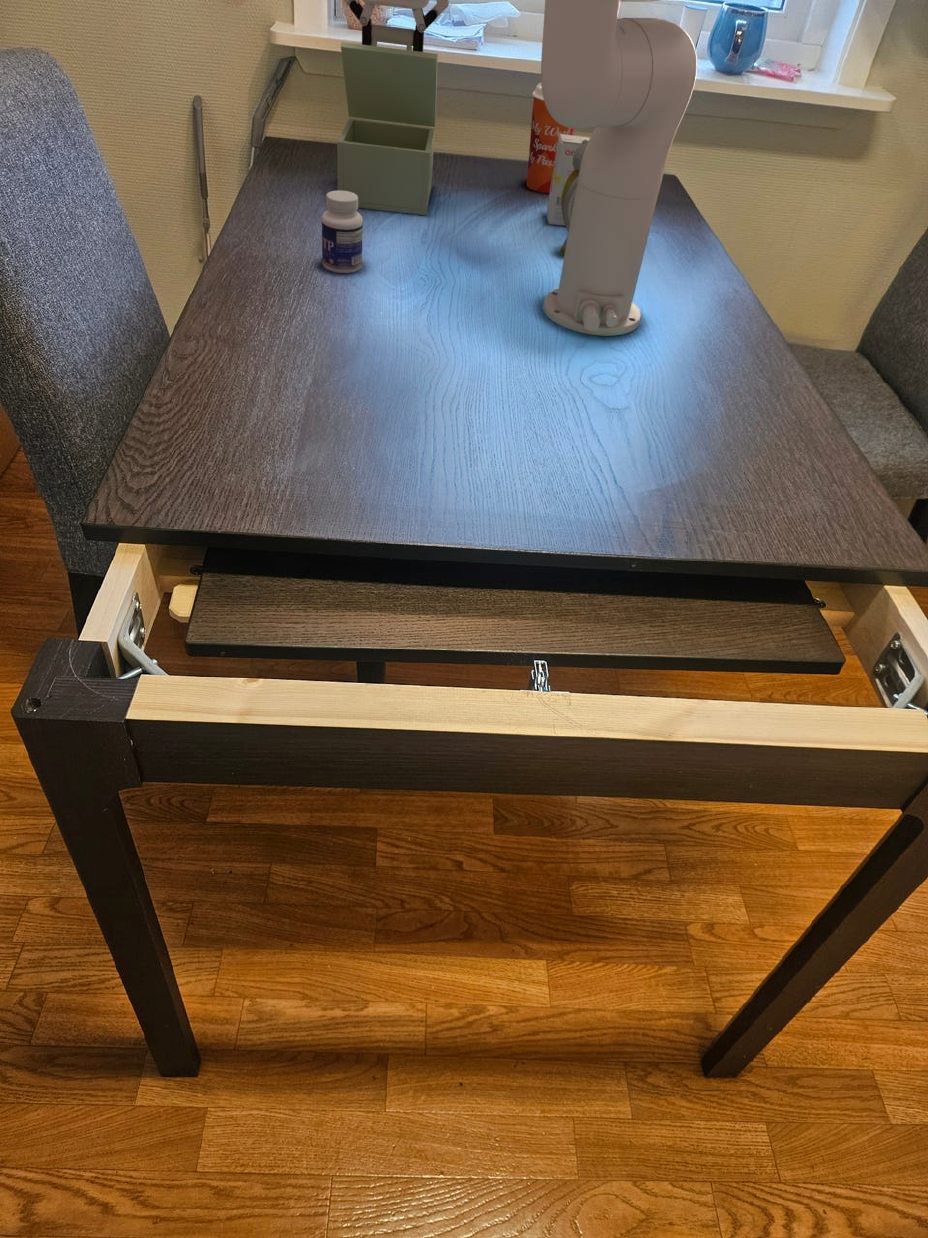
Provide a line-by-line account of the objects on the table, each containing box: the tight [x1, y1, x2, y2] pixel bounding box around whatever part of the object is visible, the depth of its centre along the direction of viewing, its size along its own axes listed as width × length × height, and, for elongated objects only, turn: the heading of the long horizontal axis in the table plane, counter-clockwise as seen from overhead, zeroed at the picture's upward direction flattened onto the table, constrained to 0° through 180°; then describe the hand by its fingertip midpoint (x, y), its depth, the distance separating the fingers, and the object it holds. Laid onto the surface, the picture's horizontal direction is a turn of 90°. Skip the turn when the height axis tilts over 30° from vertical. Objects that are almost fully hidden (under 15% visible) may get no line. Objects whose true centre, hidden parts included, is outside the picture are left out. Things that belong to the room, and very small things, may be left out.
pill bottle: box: [321, 190, 364, 274], centre depth 110 cm, size 5×5×9 cm
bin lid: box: [340, 23, 439, 128], centre depth 126 cm, size 14×14×6 cm
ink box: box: [546, 134, 590, 227], centre depth 130 cm, size 9×5×12 cm, turn 89°
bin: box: [336, 117, 436, 216], centre depth 131 cm, size 14×14×9 cm
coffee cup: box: [526, 81, 575, 194], centre depth 141 cm, size 8×8×15 cm
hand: (392, 58), depth 124 cm, fingers closed on bin lid, 6 cm apart
